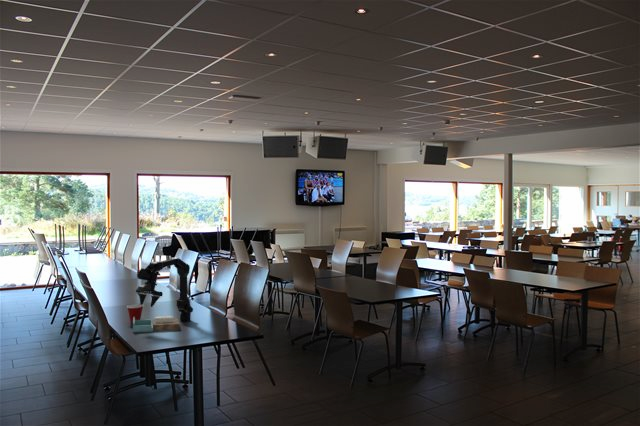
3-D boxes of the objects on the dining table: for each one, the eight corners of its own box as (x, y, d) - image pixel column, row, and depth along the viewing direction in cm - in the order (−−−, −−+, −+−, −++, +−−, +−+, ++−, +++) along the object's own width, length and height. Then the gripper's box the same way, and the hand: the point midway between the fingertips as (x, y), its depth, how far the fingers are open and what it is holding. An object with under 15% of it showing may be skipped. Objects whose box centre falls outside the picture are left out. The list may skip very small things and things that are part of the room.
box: (152, 325, 350) (152, 316, 350) (153, 331, 333) (153, 322, 333) (133, 326, 346) (133, 316, 346) (132, 332, 329) (133, 323, 329)
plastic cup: (126, 321, 358) (126, 304, 358) (142, 320, 362) (143, 303, 362) (126, 325, 348) (126, 307, 348) (143, 324, 352) (144, 306, 351)
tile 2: (171, 320, 347) (172, 315, 347) (172, 322, 343) (172, 317, 343) (164, 320, 346) (164, 316, 346) (164, 322, 341) (164, 317, 341)
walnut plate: (177, 324, 354) (177, 318, 354) (179, 329, 339) (179, 323, 339) (152, 325, 349) (152, 319, 349) (153, 331, 334) (153, 324, 334)
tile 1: (163, 320, 346) (163, 316, 346) (163, 322, 341) (163, 317, 341) (155, 321, 344) (155, 316, 344) (155, 322, 339) (155, 318, 339)
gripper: (131, 278, 337) (126, 302, 334) (152, 281, 327) (146, 306, 324) (145, 280, 346) (139, 304, 343) (165, 283, 336) (160, 308, 333)
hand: (146, 306), depth 336 cm, fingers open, 9 cm apart
